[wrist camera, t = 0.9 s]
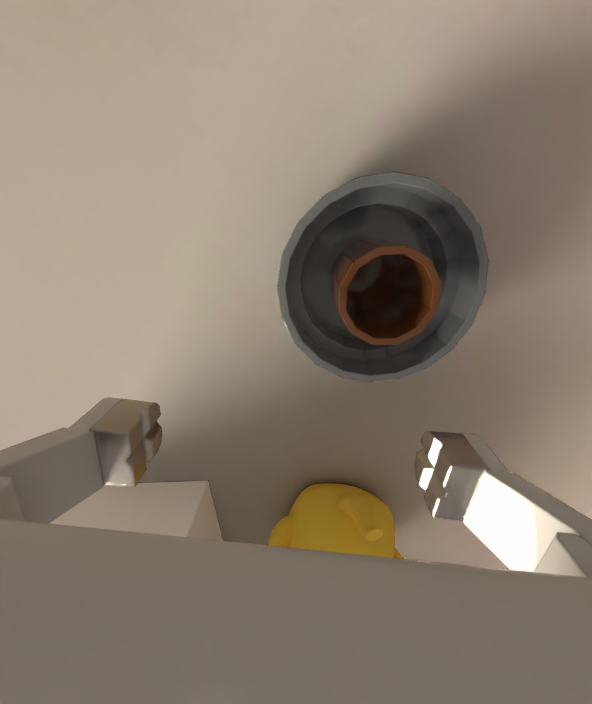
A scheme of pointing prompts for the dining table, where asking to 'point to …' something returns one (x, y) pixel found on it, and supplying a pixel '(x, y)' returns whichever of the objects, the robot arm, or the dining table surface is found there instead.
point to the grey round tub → (391, 225)
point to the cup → (385, 290)
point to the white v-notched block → (149, 510)
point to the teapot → (338, 522)
